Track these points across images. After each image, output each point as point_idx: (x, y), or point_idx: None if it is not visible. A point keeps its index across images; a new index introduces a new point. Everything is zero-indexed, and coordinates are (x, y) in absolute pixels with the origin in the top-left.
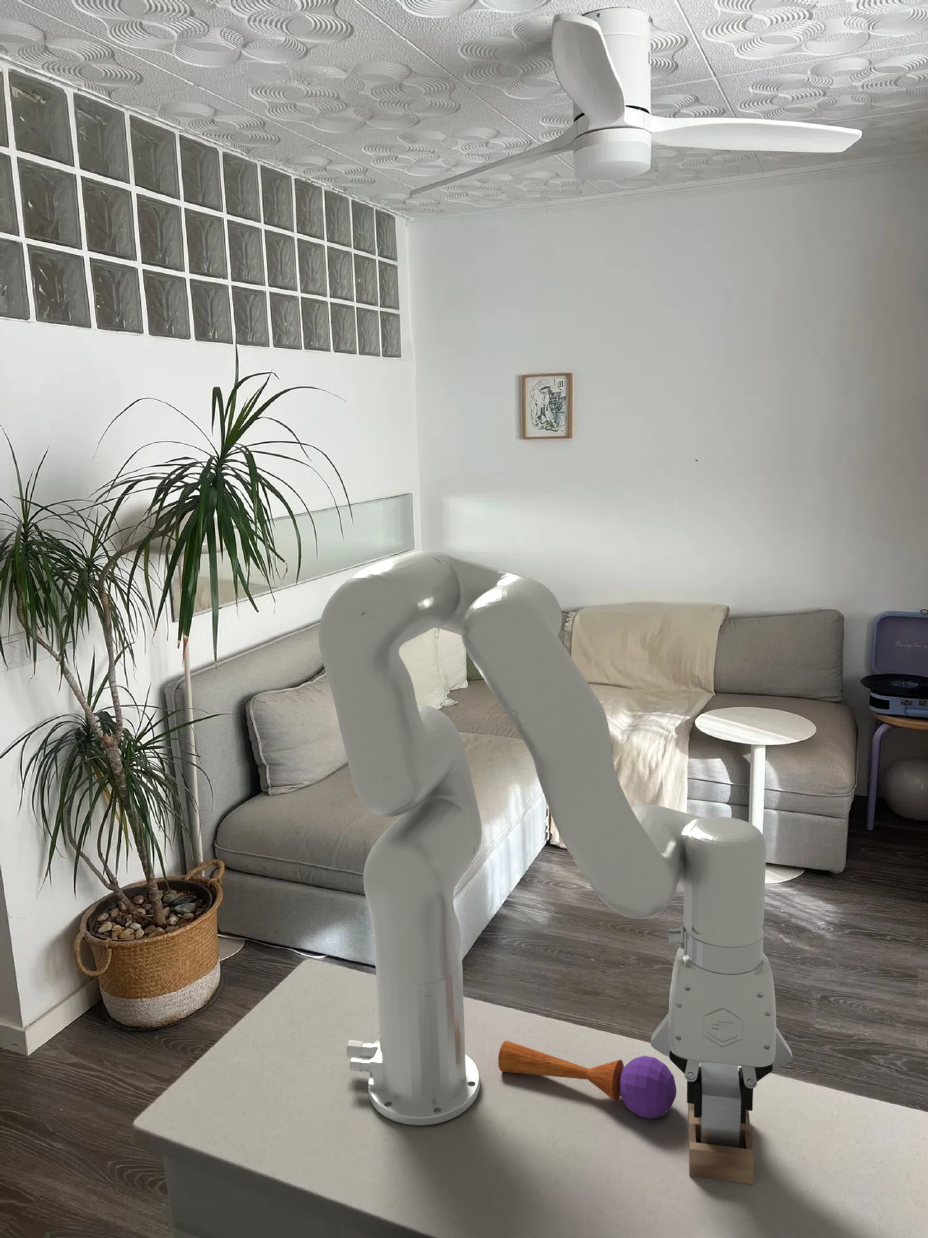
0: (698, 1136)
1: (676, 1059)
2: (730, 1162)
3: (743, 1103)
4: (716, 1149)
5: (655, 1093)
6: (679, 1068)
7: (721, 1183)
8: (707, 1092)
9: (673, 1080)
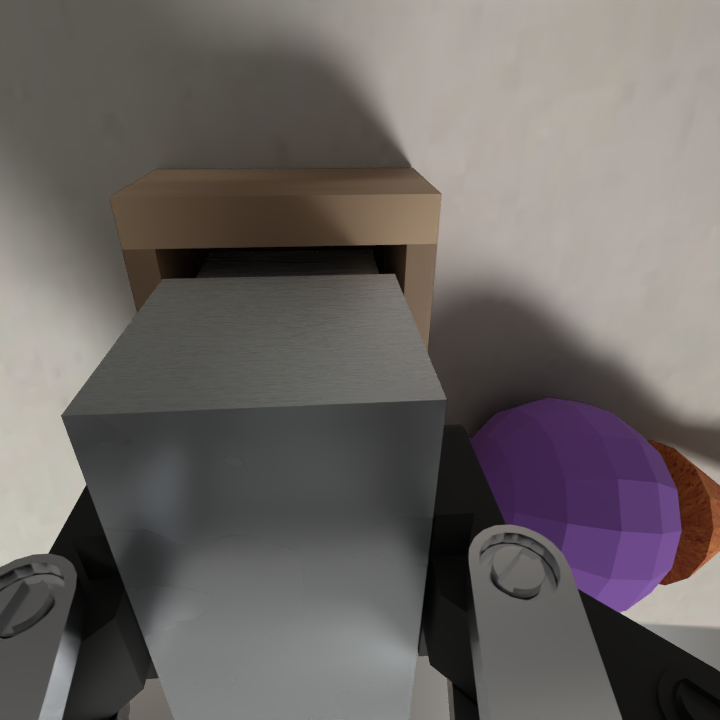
0: None
1: (698, 702)
2: (238, 185)
3: None
4: (306, 216)
5: (566, 468)
6: (608, 612)
7: (284, 152)
8: (396, 437)
9: None
